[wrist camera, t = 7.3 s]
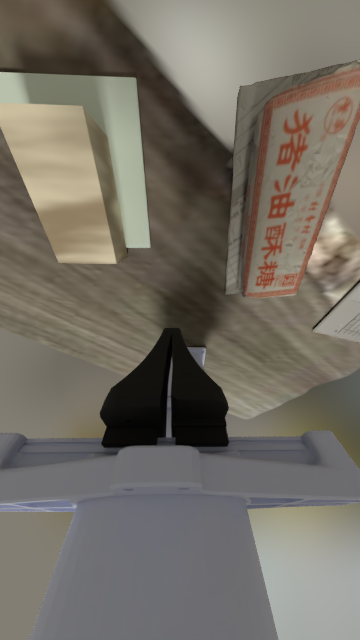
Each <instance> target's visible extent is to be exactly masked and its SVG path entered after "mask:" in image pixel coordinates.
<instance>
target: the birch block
mask: <svg viewBox="0 0 360 640" xmlns="http://www.w3.org/2000/svg"><path fill="white" fill-rule="evenodd" d="M0 127H1V129H2V132H3V134H4V136H5V139H6V141H7V143H8V146H9V148H10V150H11V153H12V155H13V157H14V160H15V162H16V164H17V167H18V169H19V171H20V174H21V176H22V178H23V181H24V183H25V185H26V188H27V190H28V192H29V195H30V197H31V199H32V202H33V204H34V206H35V209H36V211H37V213H38V216H39V218H40V220H41V223H42V225H43V227H44V230H45V232H46V234H47V237H48V239H49V241H50V244H51V246H52V248H53V251H54V253H55V255H56V258H57V260H58V262H59V263H97V264H117V263H119V262H120V261H122V260H123V259H125V258H127V257H128V255H127V249H126V243H125V237H124V231H123V225H122V220H121V214H120V208H119V202H118V196H117V190H116V184H115V179H114V173H113V167H112V161H111V155H110V149H109V143H108V138H107V136H106V134H105V133H104V132H103V131H102V129H101V128H100V127H99V126H98V124H97V123H96V122H95V121H94V119H93V118H92V117H91V116H90V114H89V113H88V112H87V111H86V109H85V108H84V107H83V106H74V105H46V104H19V103H0Z"/></svg>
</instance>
